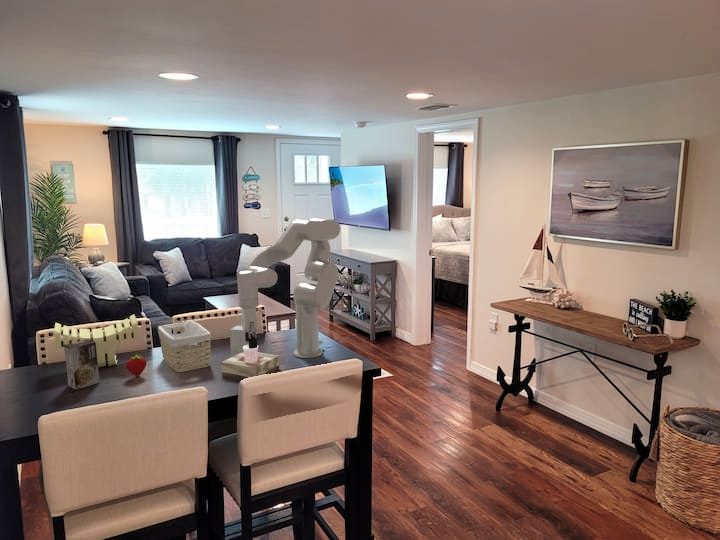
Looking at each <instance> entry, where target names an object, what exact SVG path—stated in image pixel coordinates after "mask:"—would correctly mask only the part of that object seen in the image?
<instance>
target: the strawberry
mask: <svg viewBox="0 0 720 540" xmlns="http://www.w3.org/2000/svg"><path fill="white" fill-rule="evenodd" d="M147 363H148V362H147V360H146V358H144V356H143V355H138V353H137V352H136V355H134V356H131V357H129V358H128V360H127V361H126V363H125V367H126V369H127V370H128V372H129V373H130V374H131V375H133V376H134V377H135V378H138V377H140V376H141V375H142V373H143V372H144V371H145V368H146V366H147Z"/></svg>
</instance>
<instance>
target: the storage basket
mask: <svg viewBox="0 0 720 540" xmlns="http://www.w3.org/2000/svg"><path fill="white" fill-rule="evenodd" d="M182 329H184V332H181V333H175V334H174V333H173V332H172V331H177V330H182ZM157 333H158V336H159V337H158V338H159V342H160V346H161V349H160V350H161V353H162V359H164V361H165V363H167V364H168V366H169V367H170V368H172V369H173V370H174V371H175V373H184V372H188V371H193V370H199V369H204V367H205V368H207V367H210V366H211V364H212V363H211V362H212V361H211V357H212V354H211V352H212V349H211V342H212V341H211V340H212V336H211V335H212V334H211V332H210V331H208V329H206V328H205V327H204V326H202V325H201V324H200V323H198V322H196V321H193V320H191V321H184V322H183V321H182V322H175V323H170V324H164V325H158V326H157Z"/></svg>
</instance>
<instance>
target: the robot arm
mask: <svg viewBox="0 0 720 540" xmlns="http://www.w3.org/2000/svg"><path fill="white" fill-rule="evenodd" d="M340 232H341V225H340V223H339V221H337V220H336V219H331V218H320V217H319V218H318V217H316V218H315V217H314V218H311V219H295V220H293V221H292V222H290V224H289V225H288V226H287V228H286V229H285V230H284V232H283V233H282V234H281V235H280V237H279V238H278V239H277V241H276V242H275V243H274V244H273V245H271V246H269V247H267V249H265V250H263V251H262V252H260V253H259V254H258V255H257V256H255V258H254V259H253V260H252V262H251V263H250V265H249V266H248V267H247V269H246V270H245V269H244V270H241V271H239V272H238V273H237V275H236V278H237V293H238V308H240V309H241V311H240V312H241V313H240V314H241V326H242V329H243V331H244V332H245V341H249V349H252V348H257V345H258V338H257V331H258V319H257V318H258V316H257V307H259V305H260V303H259V302H260V301H259V289H260V288H261V289H263V288H271V287H273V286H274V285H276V284H277V281H278V277H279V276H278V273H277V272H276V271H275V270H274V269H272V268H270V267H271V266H272V265H275V264H277V263H278V262H282V261H285V260H288V259H290V258H292V257H293V256H294V254H295V253H296V252H297V250H298V249H299V247H300V246H301V245H302V244H303V242H304V241H307V242H310V244H311V247H310V248H311V249H310V252H309V255H308V258H307V261H306V265H305V266H304V271H303V275H304V277H305V279H307V280H309V281H312V282H316V283H317V284H316V283H311V282H310V283H309V282H300V283H299V284H297V285H296V286H295V287H294V290H293V294H292V295H293V301H294V302H293V303H294V305H295V313H296V314H295V316H296V324H295V325H296V349H294V351H293V355H294V357H296V358H301V359H313V358H318V357H320V356H321V355H323V350H322V349H321V348H320V346H321V345H323V340H321V339H320V338H319V311H318V309H324V308H326V307H327V306H328V305H329V303H330V302H331V300H332V297H333V294H334V291H335V287H336V284H337V281H338V278H339V269H338V266H337V264H335V263H334V262H333V261H330V260H329V258H330V254H331V245H330V243H329V242H330V241H331V240H334V239H336V238H337V237H339V235H340ZM319 339H320V340H319Z"/></svg>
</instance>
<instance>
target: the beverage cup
mask: <svg viewBox="0 0 720 540" xmlns="http://www.w3.org/2000/svg"><path fill="white" fill-rule="evenodd" d="M243 350H244V359H245V362H248V363H254V362H256V361H257V356H258V350H259V345H258V344H257V348H252V349H249V345H245V346H243Z"/></svg>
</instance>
